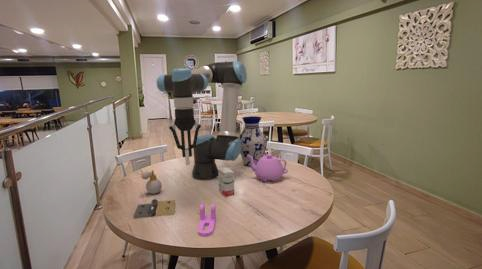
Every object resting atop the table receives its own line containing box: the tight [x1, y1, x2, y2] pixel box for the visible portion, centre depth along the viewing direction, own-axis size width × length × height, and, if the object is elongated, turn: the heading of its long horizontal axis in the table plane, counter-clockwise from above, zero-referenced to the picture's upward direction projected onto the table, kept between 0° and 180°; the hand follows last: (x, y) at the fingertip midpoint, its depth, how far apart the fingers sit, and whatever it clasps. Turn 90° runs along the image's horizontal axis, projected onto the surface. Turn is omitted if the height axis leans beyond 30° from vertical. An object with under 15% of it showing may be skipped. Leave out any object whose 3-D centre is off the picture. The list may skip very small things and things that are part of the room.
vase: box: [238, 116, 268, 167], centre depth 175 cm, size 19×19×30 cm
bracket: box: [197, 203, 217, 238], centre depth 103 cm, size 13×6×7 cm, turn 0°
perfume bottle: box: [141, 169, 163, 195], centre depth 134 cm, size 8×10×12 cm
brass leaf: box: [155, 199, 176, 217], centre depth 118 cm, size 7×10×3 cm
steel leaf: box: [132, 199, 159, 219], centre depth 117 cm, size 8×10×3 cm
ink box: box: [217, 166, 235, 198], centre depth 133 cm, size 8×5×12 cm, turn 26°
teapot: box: [247, 153, 289, 183], centre depth 150 cm, size 22×16×14 cm
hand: (187, 164), depth 116 cm, fingers closed
